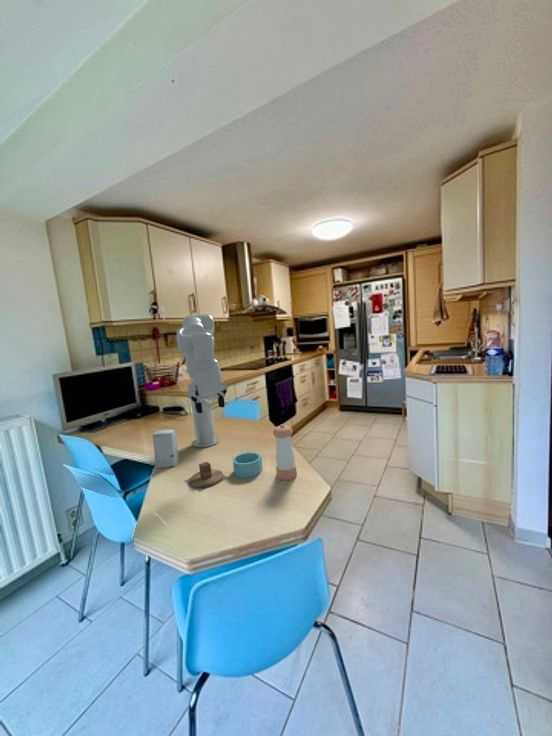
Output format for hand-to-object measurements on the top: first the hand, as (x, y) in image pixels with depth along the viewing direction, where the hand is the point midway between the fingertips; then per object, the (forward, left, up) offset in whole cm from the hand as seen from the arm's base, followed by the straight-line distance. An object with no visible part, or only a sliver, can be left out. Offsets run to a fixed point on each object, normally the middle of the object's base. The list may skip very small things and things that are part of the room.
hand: (211, 409), depth 117 cm
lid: (+4, -7, -24) cm, 26 cm away
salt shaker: (+25, +14, -25) cm, 37 cm away
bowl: (+11, +7, -25) cm, 28 cm away
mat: (+4, -7, -25) cm, 26 cm away
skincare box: (-23, -11, -25) cm, 36 cm away
